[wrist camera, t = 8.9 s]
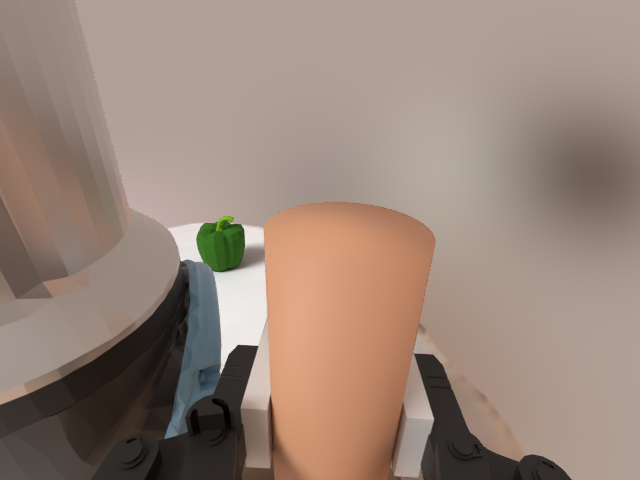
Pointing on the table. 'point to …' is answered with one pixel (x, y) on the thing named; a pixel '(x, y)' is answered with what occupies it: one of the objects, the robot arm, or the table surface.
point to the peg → (341, 334)
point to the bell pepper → (221, 244)
